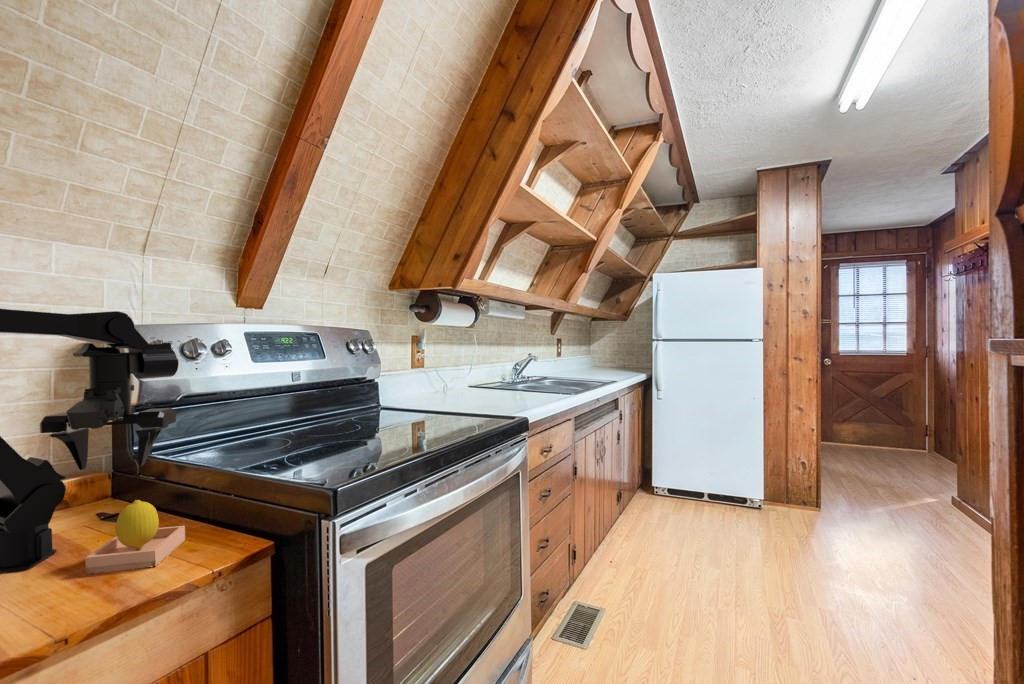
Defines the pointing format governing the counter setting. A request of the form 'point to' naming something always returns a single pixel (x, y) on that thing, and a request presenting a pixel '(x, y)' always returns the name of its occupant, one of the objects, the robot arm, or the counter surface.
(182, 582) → the counter surface
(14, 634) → the counter surface
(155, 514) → the lemon
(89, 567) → the dish
